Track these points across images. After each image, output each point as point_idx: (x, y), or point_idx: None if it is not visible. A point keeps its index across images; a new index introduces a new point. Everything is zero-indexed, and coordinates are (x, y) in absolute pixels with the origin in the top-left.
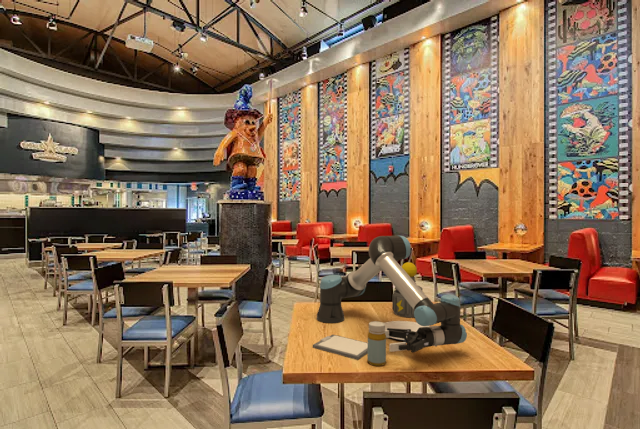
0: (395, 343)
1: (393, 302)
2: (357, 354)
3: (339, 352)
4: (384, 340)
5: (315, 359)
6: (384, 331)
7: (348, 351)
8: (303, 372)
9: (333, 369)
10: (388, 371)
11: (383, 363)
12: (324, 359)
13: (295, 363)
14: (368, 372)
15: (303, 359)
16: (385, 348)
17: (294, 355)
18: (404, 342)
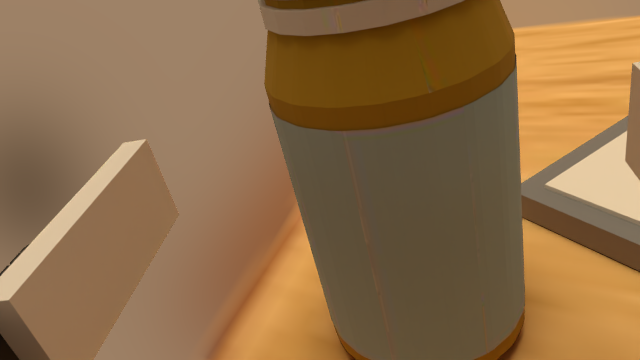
0: (99, 183)
1: None
2: (557, 187)
3: (625, 119)
4: (278, 125)
5: (542, 71)
6: (277, 11)
7: None
8: None
9: None
10: (225, 348)
11: (337, 332)
12: (540, 92)
13: None
14: (285, 231)
15: (545, 47)
16: (320, 233)
17: (601, 26)
18: (8, 282)
